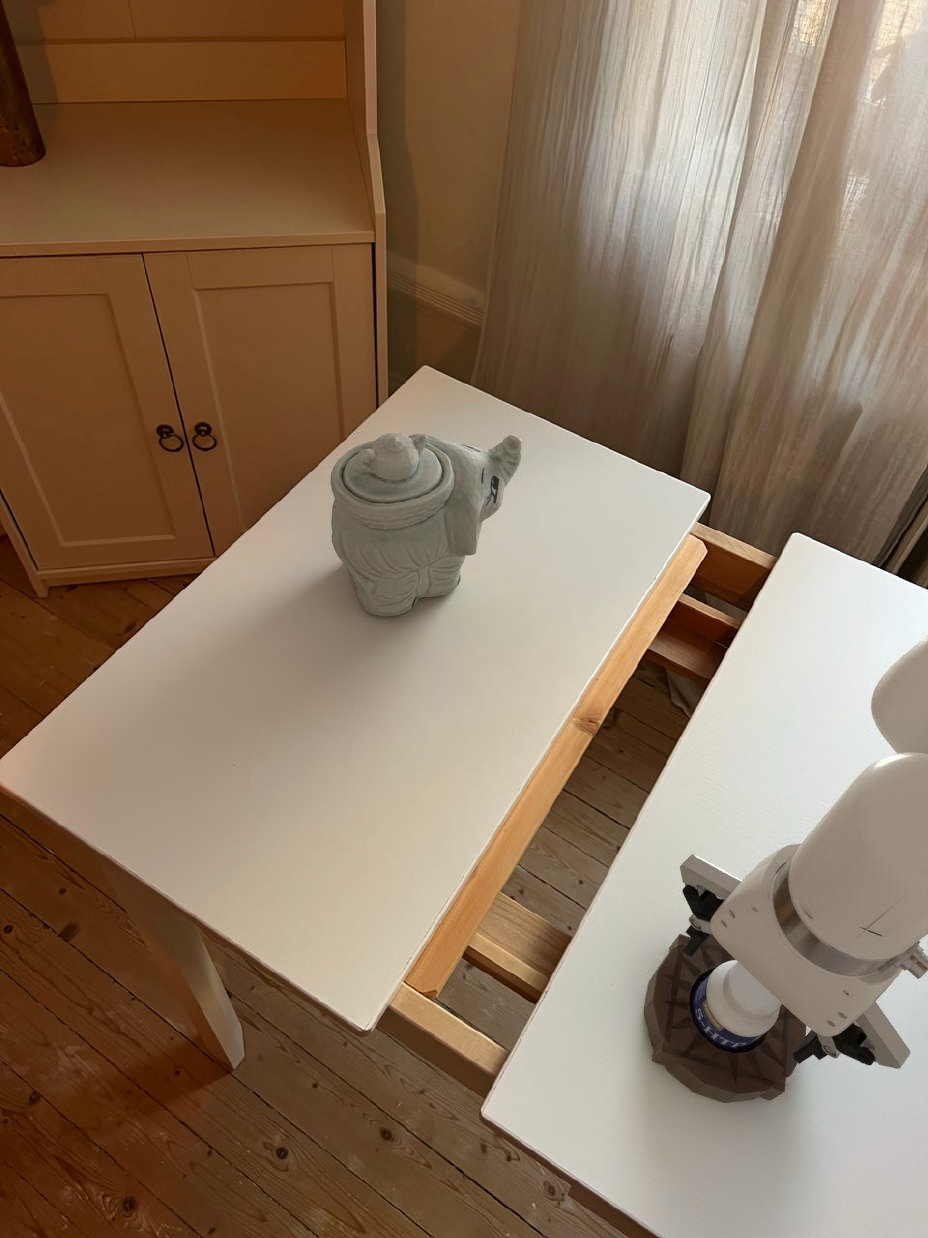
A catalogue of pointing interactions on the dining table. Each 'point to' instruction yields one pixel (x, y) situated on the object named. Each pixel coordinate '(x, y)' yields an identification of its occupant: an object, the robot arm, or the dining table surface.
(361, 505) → the teapot
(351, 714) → the dining table surface
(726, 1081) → the socket plate
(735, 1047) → the pill bottle
